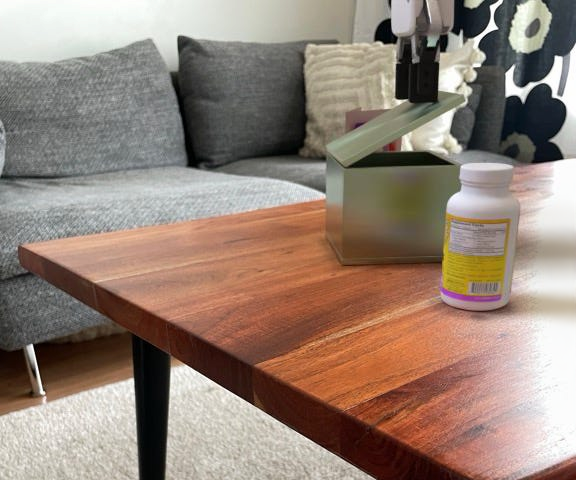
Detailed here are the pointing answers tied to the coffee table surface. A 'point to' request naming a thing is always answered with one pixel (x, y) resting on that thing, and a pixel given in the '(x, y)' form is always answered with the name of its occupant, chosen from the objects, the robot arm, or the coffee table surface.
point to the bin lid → (390, 127)
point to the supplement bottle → (480, 239)
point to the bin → (389, 206)
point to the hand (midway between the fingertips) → (415, 99)
